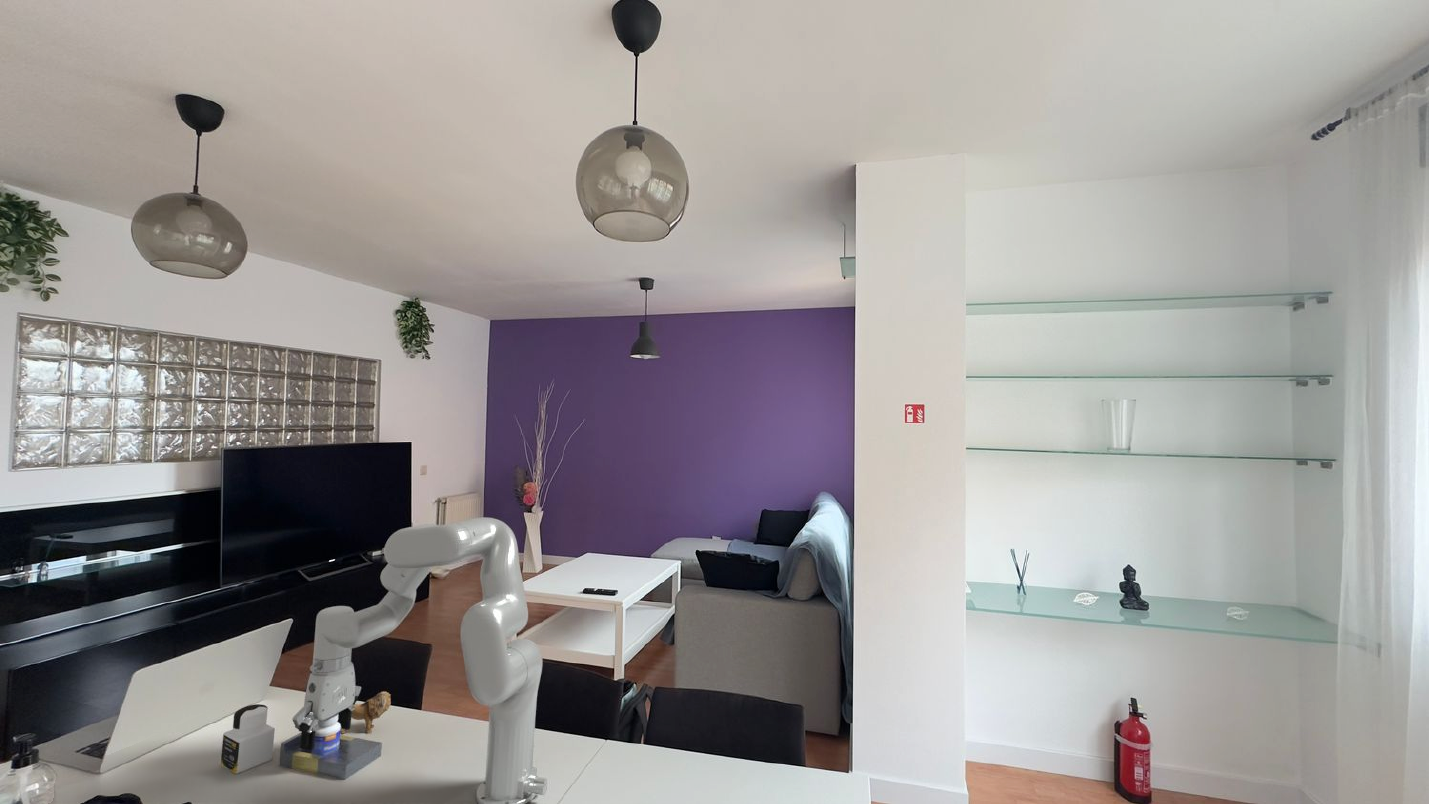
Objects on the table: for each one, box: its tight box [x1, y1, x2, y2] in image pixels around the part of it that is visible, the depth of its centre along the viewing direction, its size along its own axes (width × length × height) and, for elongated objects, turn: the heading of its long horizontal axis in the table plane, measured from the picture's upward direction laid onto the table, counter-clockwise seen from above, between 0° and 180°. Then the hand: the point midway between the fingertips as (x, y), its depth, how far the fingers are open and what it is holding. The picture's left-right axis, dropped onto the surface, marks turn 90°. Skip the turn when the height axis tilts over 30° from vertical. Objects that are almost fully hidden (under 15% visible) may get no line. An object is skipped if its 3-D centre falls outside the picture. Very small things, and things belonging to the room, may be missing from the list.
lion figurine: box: [337, 691, 392, 735], centre depth 149 cm, size 15×5×9 cm, turn 104°
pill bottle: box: [311, 713, 341, 756], centre depth 135 cm, size 5×5×10 cm
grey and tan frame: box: [278, 724, 383, 781], centre depth 134 cm, size 18×10×5 cm, turn 77°
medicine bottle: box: [220, 704, 275, 775], centre depth 133 cm, size 7×7×12 cm
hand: (326, 738), depth 135 cm, fingers open, 9 cm apart
